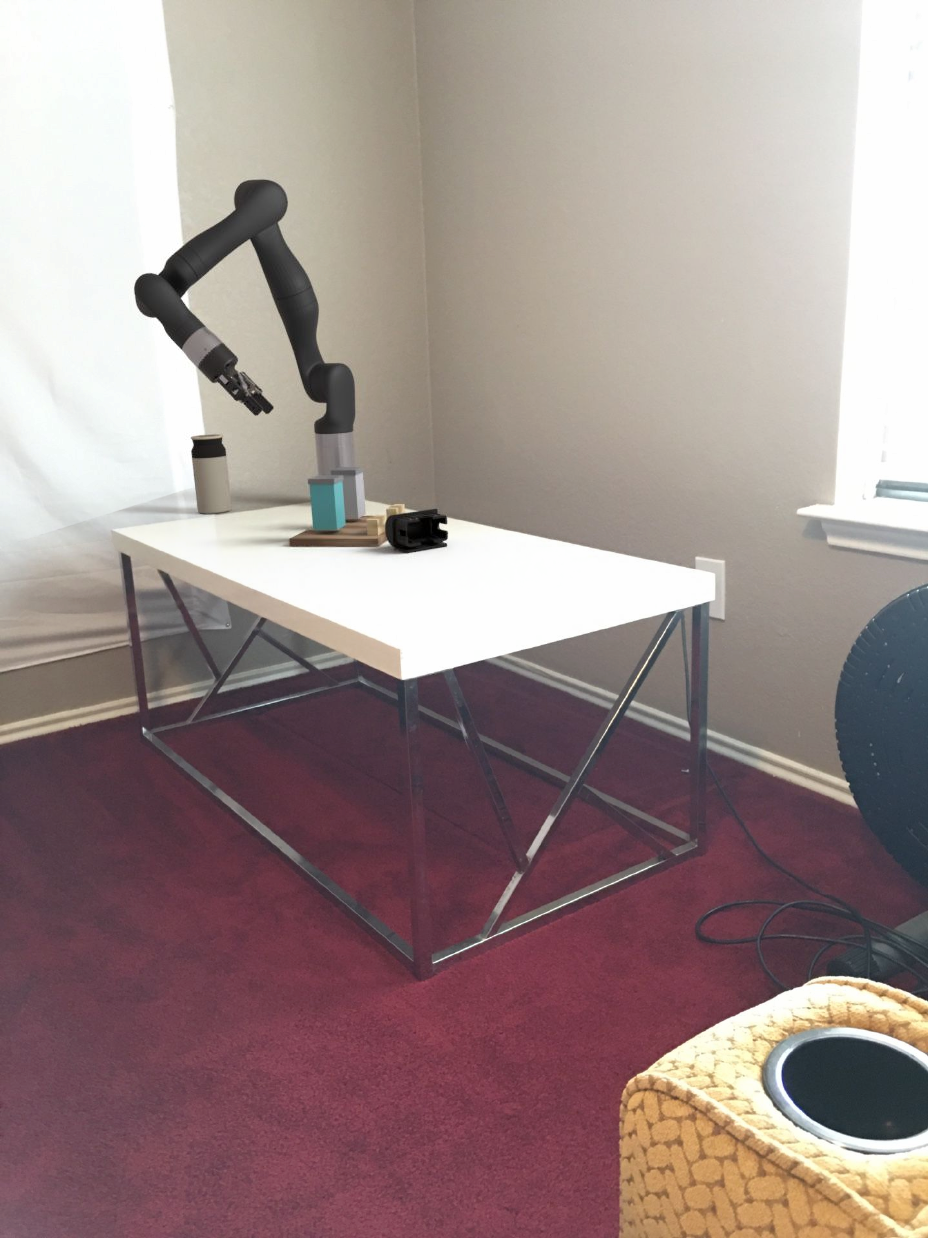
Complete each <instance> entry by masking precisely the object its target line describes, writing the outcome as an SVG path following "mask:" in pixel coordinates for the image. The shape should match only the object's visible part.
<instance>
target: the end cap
mask: <svg viewBox="0 0 928 1238" xmlns="http://www.w3.org/2000/svg"><path fill="white" fill-rule="evenodd" d="M440 524H442V525H448V516H447V515H446V514H441V513H438V508H431V509H424V510H418V511H417V510H416V511H410V512H405V513H402V514H395V515H390V516H389V517H388V518H387V520H386V523H385V533H386V537H387V542H388V544H389V545H390V546H391V547H393V549H394V550H395V551H397V552H400V553H405V554H412V553H418V552H419V553H420V552H423V551H430V550H436V549H441V548H447V547H448V543H447V542H445V541H447V540H448V539H449V531H448V530H445V529H442V528H440Z"/></svg>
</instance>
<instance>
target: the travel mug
mask: <svg viewBox="0 0 928 1238" xmlns="http://www.w3.org/2000/svg"><path fill="white" fill-rule="evenodd" d="M223 438H224V435H223V434H220V433H219V434H217V433H213V434H202V435H201V434H200V435H192V436H190V439H191V441H192V444H193V445H192V449H191V450H190V453H191V461H192V462H191V463H192V469H193V470H192V471H193V480H194V489H195V498H196V508H197V512H198V513H200V514H203V515H216V514H217V515H218V514H224V513H225V514H226V513H228V512H230V511H231V510H232V507H233V506H232V498H231V489H230V479H229V470H228V457H227V449H226V447H225V446H224V444H223Z"/></svg>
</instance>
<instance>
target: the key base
mask: <svg viewBox="0 0 928 1238" xmlns="http://www.w3.org/2000/svg"><path fill="white" fill-rule="evenodd" d="M405 507H406V506H405V503H397V504H396V503H394V504H392V505H390V506H389V507H387V508H385V514H375V515H363V516H362V517H360V518H345V524H346V525H345V526H343V527H341V528H340V529H338V530H313V526H312V527H309V528H308V529H306V530H303V531H301V532H300V533H298V534H296V535H294V536H292V537H290V538H289V539H288V541H289V547H376V548H377V547H380V546H381V545H383V544H384V543H385V542H388V540H387V537H386V533H385V523H386V520H387V518H388V517H389V516H390V515H395V514H402V513H406V511H405V510H406V508H405Z"/></svg>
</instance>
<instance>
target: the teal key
mask: <svg viewBox="0 0 928 1238" xmlns="http://www.w3.org/2000/svg"><path fill="white" fill-rule="evenodd" d="M343 480H344V479H343V475H318V474H317V475H315V476H312V477H309V478H308V479H307V484H308V485H309V495H310V508H311V518H312V519H311V521H312V527H313V530H338V529H340V528H341V527H343V526H345V525H346V524H345V510H344V497H343V483H342V481H343Z"/></svg>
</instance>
